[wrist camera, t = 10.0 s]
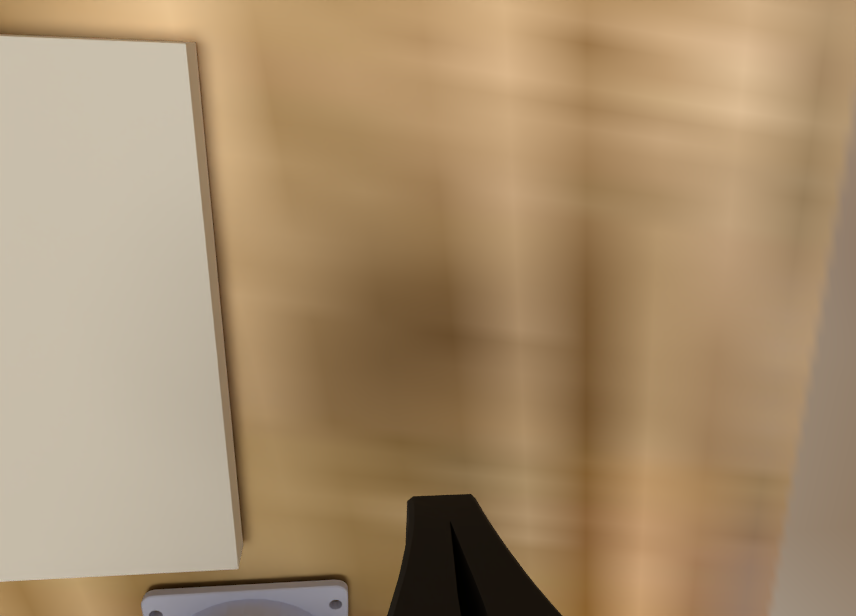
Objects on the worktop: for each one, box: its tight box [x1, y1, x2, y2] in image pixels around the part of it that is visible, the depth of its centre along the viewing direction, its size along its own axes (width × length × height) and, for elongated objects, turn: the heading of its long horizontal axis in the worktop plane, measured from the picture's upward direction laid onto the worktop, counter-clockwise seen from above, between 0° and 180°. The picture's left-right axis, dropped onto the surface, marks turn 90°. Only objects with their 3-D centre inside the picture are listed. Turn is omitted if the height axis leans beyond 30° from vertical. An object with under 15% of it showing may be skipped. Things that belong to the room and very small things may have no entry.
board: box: [0, 34, 243, 582], centre depth 20 cm, size 18×13×1 cm
